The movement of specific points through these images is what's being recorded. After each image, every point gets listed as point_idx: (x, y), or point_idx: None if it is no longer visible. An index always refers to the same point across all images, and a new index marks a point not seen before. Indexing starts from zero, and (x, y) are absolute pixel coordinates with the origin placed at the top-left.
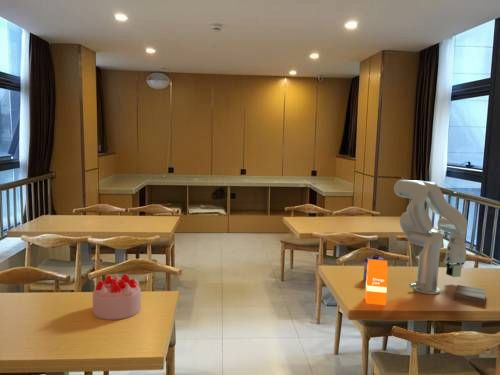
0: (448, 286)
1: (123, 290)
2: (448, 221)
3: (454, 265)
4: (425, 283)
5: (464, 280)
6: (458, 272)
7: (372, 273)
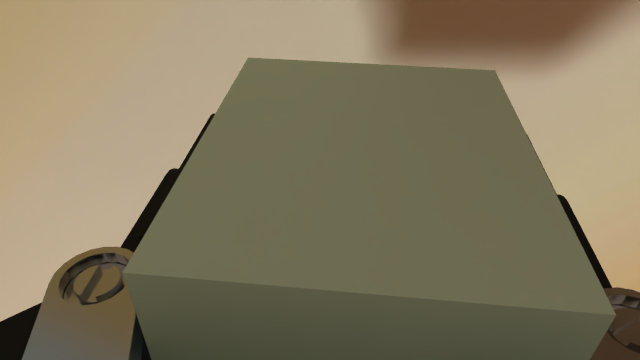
0: (545, 6)
1: None
2: None
3: (523, 348)
4: None
5: (37, 141)
6: (315, 116)
7: None
